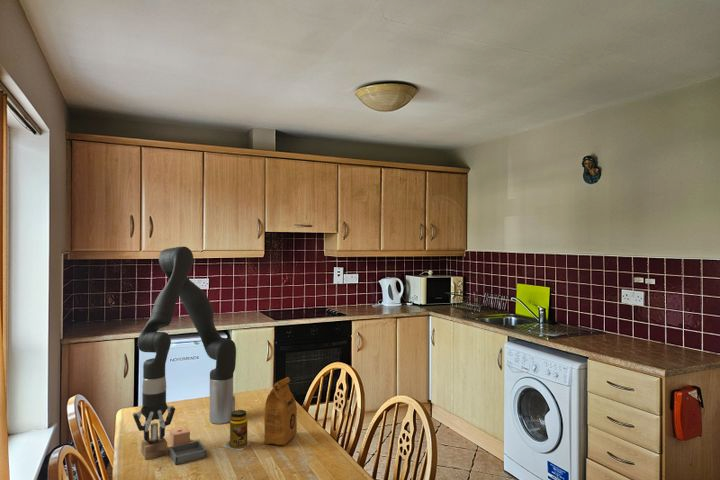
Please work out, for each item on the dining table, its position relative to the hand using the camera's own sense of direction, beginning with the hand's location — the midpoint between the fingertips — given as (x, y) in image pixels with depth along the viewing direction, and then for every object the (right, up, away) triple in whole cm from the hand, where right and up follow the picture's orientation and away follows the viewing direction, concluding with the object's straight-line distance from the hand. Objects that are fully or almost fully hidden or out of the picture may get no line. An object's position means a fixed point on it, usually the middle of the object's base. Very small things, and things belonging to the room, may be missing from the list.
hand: (154, 439), depth 167 cm
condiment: (+27, -5, +7) cm, 28 cm away
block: (+6, -5, +7) cm, 10 cm away
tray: (+12, -5, -2) cm, 13 cm away
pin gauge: (0, -5, 0) cm, 5 cm away
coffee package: (+42, -5, +11) cm, 44 cm away
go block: (0, -5, 0) cm, 5 cm away
